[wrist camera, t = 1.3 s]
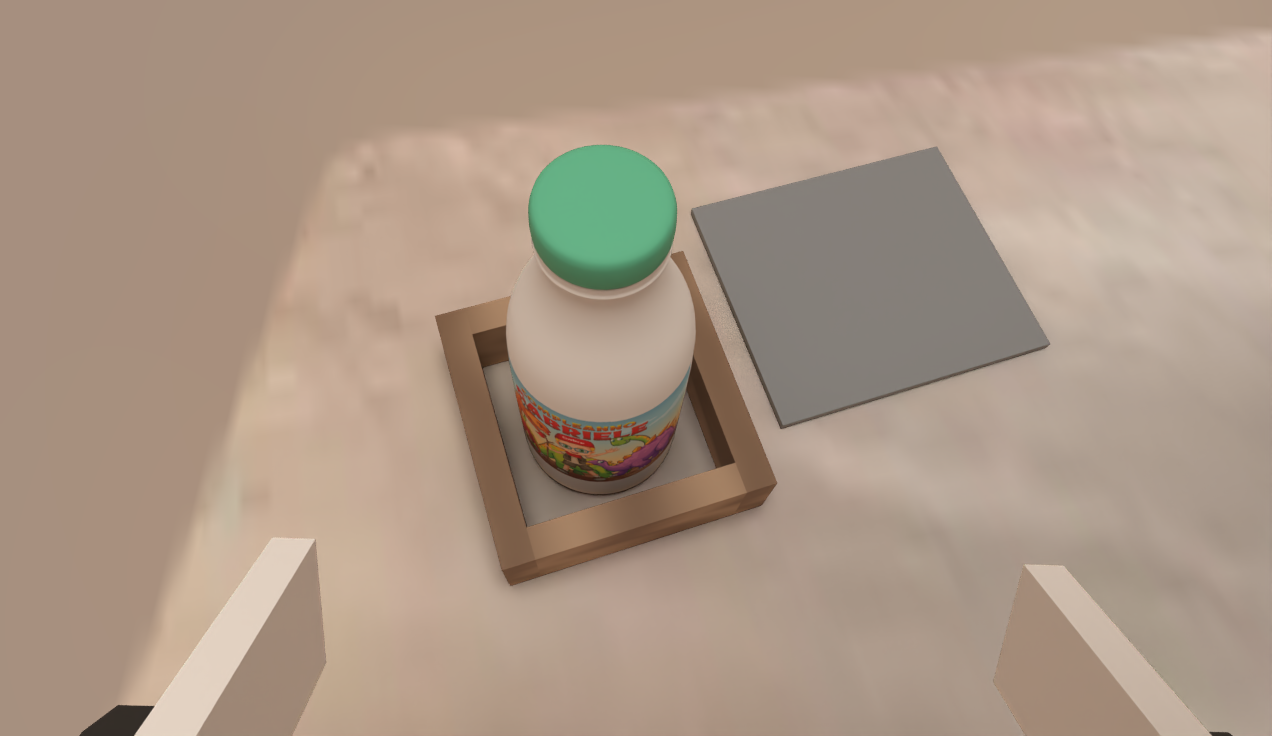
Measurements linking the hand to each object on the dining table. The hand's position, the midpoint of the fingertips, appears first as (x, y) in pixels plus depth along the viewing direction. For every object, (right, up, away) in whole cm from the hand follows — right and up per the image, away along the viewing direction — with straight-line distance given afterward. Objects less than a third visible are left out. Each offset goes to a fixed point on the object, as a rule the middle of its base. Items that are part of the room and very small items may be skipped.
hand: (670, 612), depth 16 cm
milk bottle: (-3, +2, +28) cm, 28 cm away
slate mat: (+12, +10, +32) cm, 36 cm away
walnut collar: (-3, +2, +28) cm, 28 cm away
